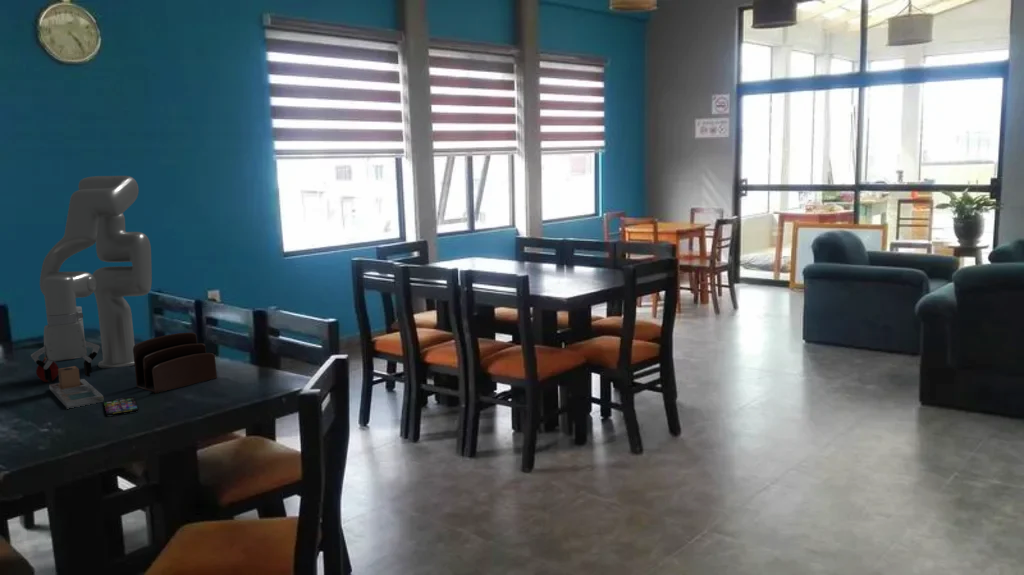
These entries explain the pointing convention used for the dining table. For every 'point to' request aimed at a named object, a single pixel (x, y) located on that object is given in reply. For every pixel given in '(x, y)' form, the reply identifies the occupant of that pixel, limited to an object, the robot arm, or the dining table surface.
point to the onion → (54, 371)
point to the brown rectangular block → (69, 377)
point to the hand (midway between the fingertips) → (68, 378)
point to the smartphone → (121, 406)
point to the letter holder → (172, 362)
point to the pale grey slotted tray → (77, 394)
